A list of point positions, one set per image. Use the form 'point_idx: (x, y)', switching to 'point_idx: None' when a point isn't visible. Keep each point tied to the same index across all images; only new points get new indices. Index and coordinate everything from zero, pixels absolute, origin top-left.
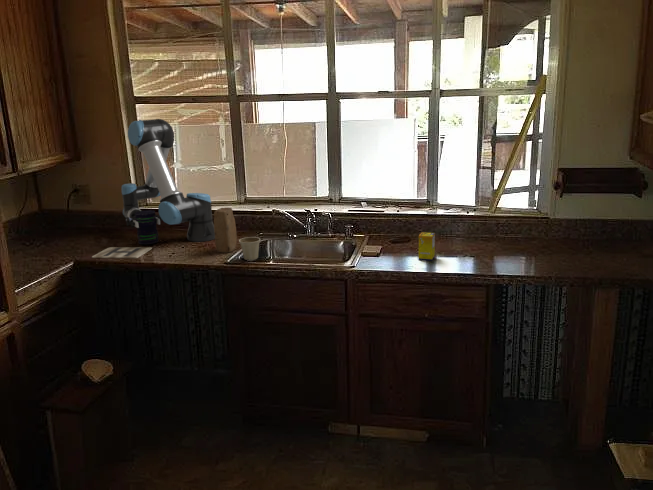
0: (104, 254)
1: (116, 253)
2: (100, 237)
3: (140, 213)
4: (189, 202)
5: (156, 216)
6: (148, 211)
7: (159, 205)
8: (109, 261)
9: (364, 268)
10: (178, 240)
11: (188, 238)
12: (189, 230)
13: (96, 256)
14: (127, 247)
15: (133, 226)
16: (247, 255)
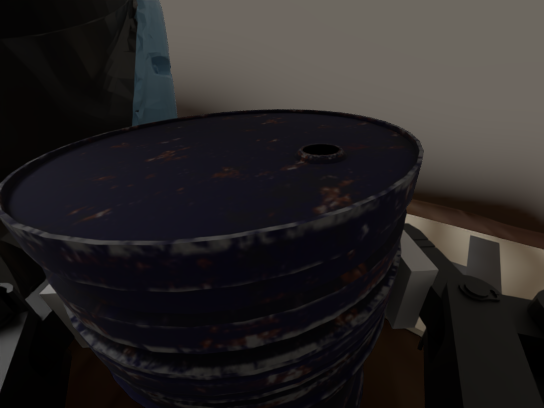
0: (506, 258)
1: (441, 249)
2: None
3: (309, 131)
4: None
5: (19, 293)
6: (125, 167)
7: (163, 21)
8: (433, 205)
9: None
10: (81, 348)
11: None
12: (13, 273)
13: (533, 248)
14: (416, 325)
15: (419, 344)
16: None
